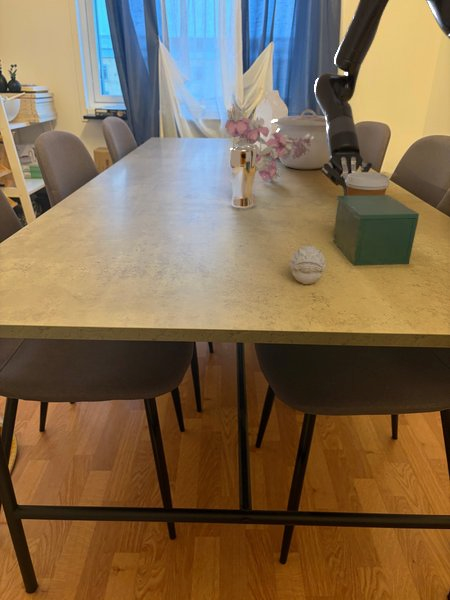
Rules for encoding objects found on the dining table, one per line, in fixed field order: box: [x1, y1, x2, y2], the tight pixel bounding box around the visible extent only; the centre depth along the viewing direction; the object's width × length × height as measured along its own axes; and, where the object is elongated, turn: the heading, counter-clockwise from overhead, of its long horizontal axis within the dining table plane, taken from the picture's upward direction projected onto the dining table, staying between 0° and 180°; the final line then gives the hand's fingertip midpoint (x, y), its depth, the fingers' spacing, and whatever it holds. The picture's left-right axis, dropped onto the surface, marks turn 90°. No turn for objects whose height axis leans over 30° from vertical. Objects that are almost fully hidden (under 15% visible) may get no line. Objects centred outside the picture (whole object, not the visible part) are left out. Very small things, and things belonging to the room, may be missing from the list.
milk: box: [254, 89, 289, 152], centre depth 202 cm, size 12×12×26 cm
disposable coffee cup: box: [345, 171, 391, 196], centre depth 98 cm, size 10×10×12 cm
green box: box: [332, 200, 419, 266], centre depth 85 cm, size 14×11×9 cm
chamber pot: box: [271, 108, 330, 171], centre depth 165 cm, size 28×28×21 cm
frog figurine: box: [288, 245, 327, 285], centre depth 72 cm, size 6×7×7 cm
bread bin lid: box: [336, 194, 420, 219], centre depth 83 cm, size 14×11×1 cm
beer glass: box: [229, 146, 257, 209], centre depth 115 cm, size 7×7×15 cm
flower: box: [224, 103, 292, 182], centre depth 138 cm, size 20×22×25 cm
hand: (351, 198), depth 107 cm, fingers closed
